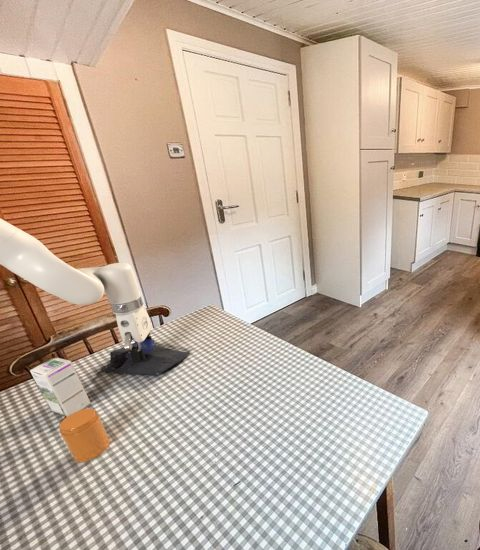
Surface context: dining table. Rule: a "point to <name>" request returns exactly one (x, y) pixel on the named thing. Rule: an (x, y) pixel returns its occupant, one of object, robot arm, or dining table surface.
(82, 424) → the jar
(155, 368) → the dark slate chunk
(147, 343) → the lid
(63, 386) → the syrup box
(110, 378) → the dining table surface
